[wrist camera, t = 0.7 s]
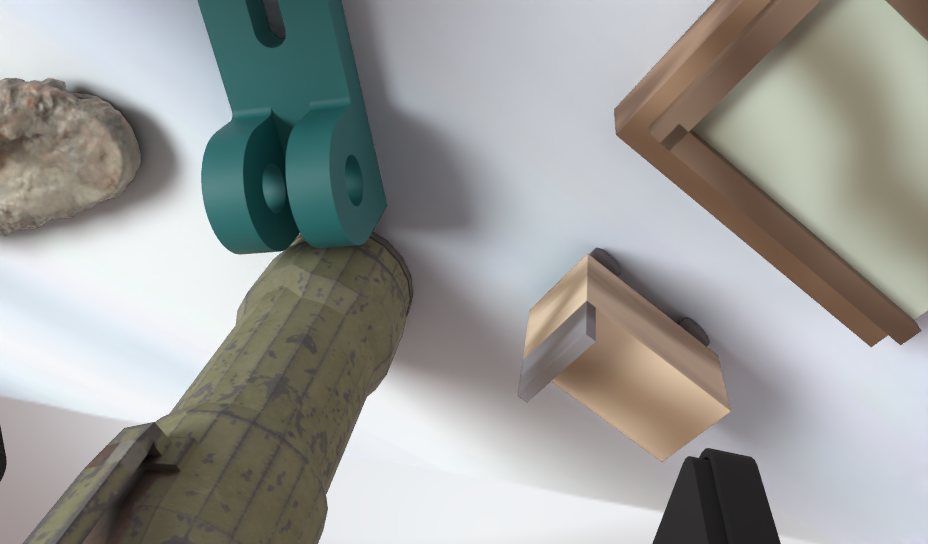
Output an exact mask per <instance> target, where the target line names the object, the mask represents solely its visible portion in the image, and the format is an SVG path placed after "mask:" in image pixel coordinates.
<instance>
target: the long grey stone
mask: <svg viewBox="0 0 928 544" xmlns="http://www.w3.org/2000/svg"><path fill="white" fill-rule="evenodd" d="M140 160H141V153H140V150H139V145H138V142H137V140H136V138H135V135H134V132H133V130H132V128H131V125H130V124H129V123H128V122H127V121H126V119H125V118H124V117H123V116H122V114H121V113H120V111H118V110H115V109H114V108H113V107H112V105H111V104H110V103H109V102H105V101H103V100H102V99H101V98H99V97H98V96H95V95H94V96H91V95H89V94H80V93H69V92H67V91H66V90H65V83H64V82H62V81H58V80H55V79H51V78H49V79H45V80H44V81H42V82H40V81H36V80H34V81H30V82H25V81H24V80H22V79H17V78H5V79H2V80H1V81H0V235H3V236H7V235H8V234H9V233H13V232H14V231H16V230H26V229H31V230H33V229H35V228H38V227H41V226H43V225H44V224H45V223H46V222H47V221H49V220H51V219H60V218H72V217H73V216H74V215H75V214H77V213H79V212H81V211H84V210H89V209H90V208H92V207H94V206H95V204H96V203H100V202H102V201H104V200H107V199H112V198H117V197H118V196H119V195H120V194H121V193H122V192H123V191H124V190H125V189H126V187H127V185H128V184H129V183H130V182H132V180H133V179H134V177H135V174H136V172H137V170H138V169H139V167H140V166H141V161H140Z"/></svg>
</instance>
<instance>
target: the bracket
mask: <svg viewBox="0 0 928 544" xmlns="http://www.w3.org/2000/svg"><path fill="white" fill-rule="evenodd" d="M198 3H199V6H200V9H201V13H202V16H203V19H204V22H205V26H206V29H207V32H208V35H209V39H210V42H211V45H212V48H213V51H214V55H215V58H216V61H217V64H218V68H219V71H220V74H221V77H222V80H223V84H224V87H225V90H226V93H227V97H228V100H229V103H230V106H231V110H232V114H233V117H232V120H231V121H230V122H229V123H228V124H226V125H225V126H224V127H222V128H221V129H220V130H218V131H217V132H216V133H215V134H214V135H213V136H212V137H211V139H210V140H209V142H208V144H207V146H206V149H205V152H204V157H203V162H202V172H201V182H202V194H203V200H204V205H205V209H206V213H207V216H208V219H209V222H210V224H211V227H212V229H213V231H214V233H215V235H216V236H217V238H218V239H219V241H220V242H221V243H222V244H223V246H224V247H225V248H227V249H228V250H229V251H231V252H233V253H235V254H252V253H265V252H278V251H284V250H286V249H287V248H288V247H289V246H290V245H291V244H292V243H293V241H294V240H295V239H296V237H297V236H298V235H299V233H301V234H302V236H303V237H304V239H305V240H306V241H307V242H308V243H309V244H310V245H311V246H313V247H315V248H329V247H342V246H355V245H362V244H364V243H365V242H366V241H367V240H368V238H369V236H370V235H371V233H372V231H373V229H374V228H375V226H376V224H377V222H378V221H379V219H380V217H381V215H382V214H383V212H384V210H385V209H386V207H387V203H386V198H385V194H384V189H383V185H382V180H381V176H380V172H379V167H378V163H377V158H376V154H375V149H374V145H373V140H372V136H371V131H370V127H369V123H368V118H367V114H366V109H365V105H364V100H363V96H362V91H361V87H360V83H359V78H358V74H357V69H356V65H355V60H354V56H353V51H352V47H351V43H350V38H349V34H348V29H347V25H346V20H345V16H344V11H343V7H342V3H341V0H278V4H279V8H280V12H281V16H282V19H283V23H284V27H285V32H286V36H285V39H282V38H279V37H278V36H276V35H275V34H274V33H273V32H272V30H271V28H270V26H269V22H268V18H267V15H266V11H265V7H264V4H263V0H198Z"/></svg>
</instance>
